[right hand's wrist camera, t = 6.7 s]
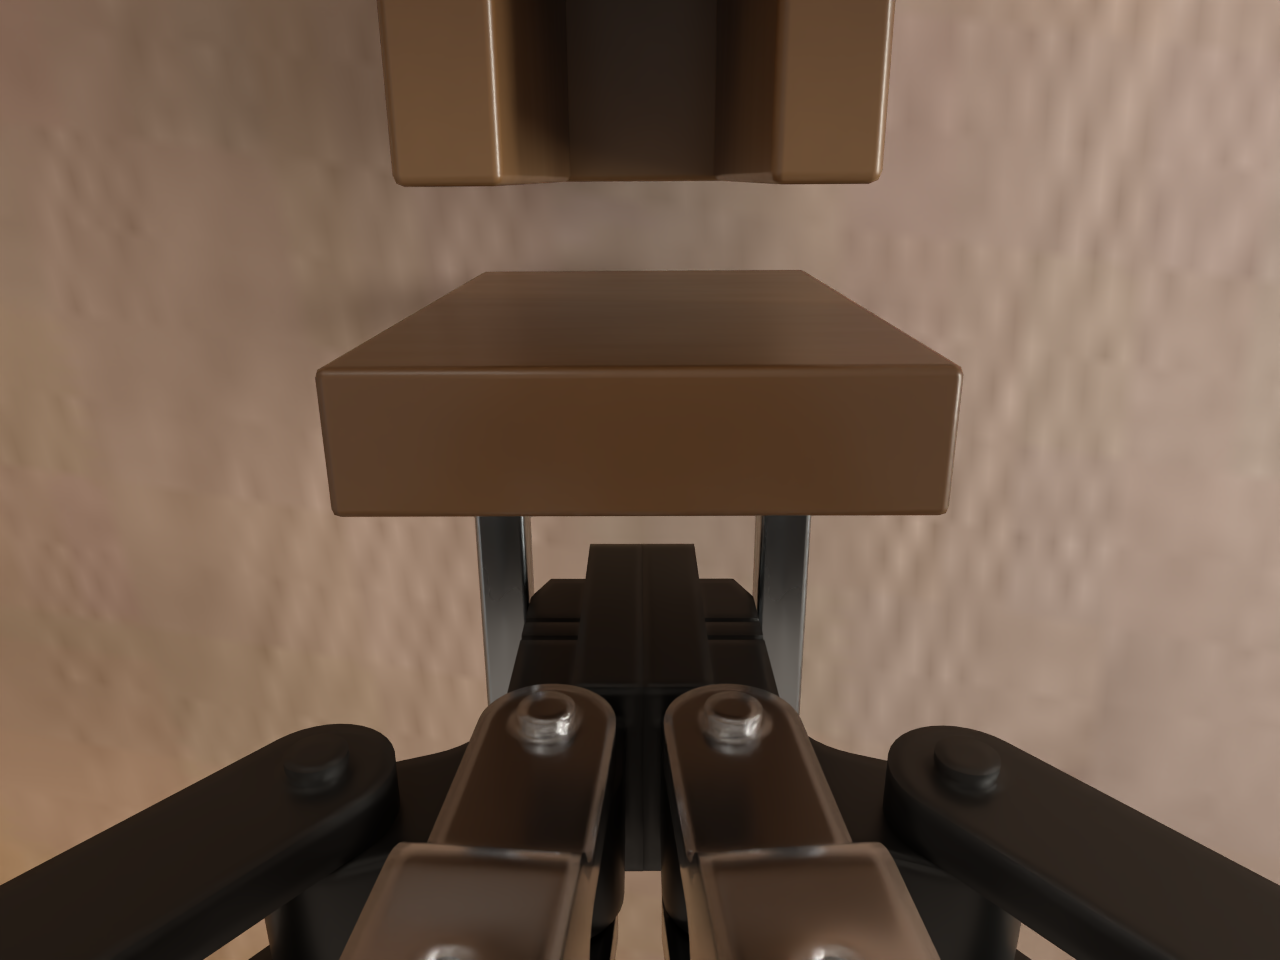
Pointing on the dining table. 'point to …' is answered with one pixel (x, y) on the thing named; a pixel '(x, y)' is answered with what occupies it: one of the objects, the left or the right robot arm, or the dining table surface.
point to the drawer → (639, 299)
